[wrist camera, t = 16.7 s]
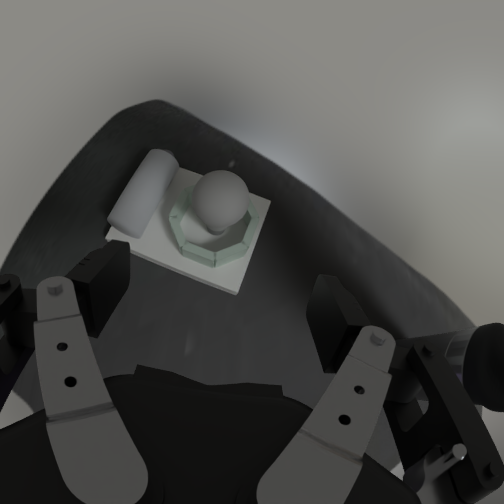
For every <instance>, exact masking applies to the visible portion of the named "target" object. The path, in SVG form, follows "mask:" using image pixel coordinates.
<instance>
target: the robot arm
mask: <svg viewBox="0 0 504 504" xmlns="http://www.w3.org/2000/svg"><path fill="white" fill-rule="evenodd" d="M129 282H130V244H129V242H125V241H120V240H114V239H112V240H111V241H109V242H108V243H107V244H106V245H105V246H104V247H103V248H102V249H101V248H99V249H97V250H95V251H92V252H90V253H89V254H88V255H87V256H86V257H85V258H84V260H83V259H82V260H81V261H80V262H79V264H77V265H76V266H75V267H74V268H73V269H72V270H71V271H70V272H69V273H68V274H67V275H66V276H65V277H59V276H57V277H50V278H47V279H45V280H43V281H42V282H41V283H40V284H39V285H38V286H37V289H23V288H22V287H21V283H20V279H19V277H18V276H16V275H13V274H5V275H1V276H0V324H1V327H2V329H3V332H4V336H3V337H2V338H1V340H0V412H1V410H2V407H3V406H4V404H5V402H6V399H7V398H8V396H9V394H10V392H11V390H12V388H13V386H14V384H15V383H16V381H17V379H18V377H19V375H20V374H21V372H22V370H23V368H24V367H25V365H26V363H27V362H28V360H29V358H30V357H31V355H32V353H33V352H34V350H35V349H36V358H37V366H38V373H39V379H40V385H41V391H42V396H43V401H44V406H45V408H44V409H42V410H40V411H38V412H36V413H34V414H32V415H30V416H28V417H26V418H24V419H22V420H20V421H17V422H15V423H13V424H11V425H9V426H7V427H5V428H2V429H0V504H474V503H476V502H478V501H479V500H481V499H483V498H484V497H486V496H487V495H489V494H490V493H492V492H493V491H495V490H496V489H498V488H499V487H500V486H501V485H502V483H503V481H504V465H503V462H502V460H501V457H500V455H499V453H498V451H497V449H496V446H495V444H494V442H493V440H492V438H491V436H490V434H489V432H488V430H487V428H486V426H485V424H484V422H483V420H482V418H481V416H480V415H479V413H478V411H477V409H476V407H475V406H474V405H482V406H484V407H485V408H487V409H489V410H492V411H496V412H504V325H503V324H501V323H492V324H487V325H483V326H479V327H474V328H469V329H464V330H459V331H454V332H448V333H442V334H436V335H429V336H422V337H415V338H407V339H399V340H394V338H393V337H392V335H391V334H390V333H388V332H387V331H386V330H384V329H382V328H380V327H376V326H372V324H371V323H370V321H369V319H368V318H367V316H366V314H365V313H364V311H363V310H362V308H361V306H360V305H359V304H358V301H357V300H356V298H355V297H354V295H353V294H351V293H350V292H349V291H348V290H347V289H344V287H343V286H342V284H341V282H340V281H339V279H338V278H337V277H336V276H330V275H324V274H319V275H318V277H317V279H316V282H315V285H314V288H313V291H312V294H311V297H310V299H309V302H308V305H307V311H306V317H307V321H308V324H309V327H310V330H311V333H312V336H313V339H314V343H315V346H316V349H317V352H318V355H319V358H320V362H321V365H322V368H323V371H324V373H336V375H335V377H334V379H333V380H332V382H331V384H330V385H329V387H328V388H327V390H326V392H325V393H324V395H323V396H322V398H321V399H320V401H319V402H318V404H317V405H316V407H315V408H314V410H313V409H311V408H310V407H308V406H307V405H305V404H303V403H301V402H299V401H297V400H294V399H292V398H289V397H285V396H283V392H282V385H268V384H255V383H238V384H227V385H205V384H202V383H199V382H197V381H194V380H191V379H189V378H186V377H184V376H181V375H178V374H176V373H173V372H170V371H165V370H160V369H155V368H151V367H146V366H142V365H138V364H137V367H136V370H135V373H134V374H127V375H117V376H112V377H108V378H105V379H103V378H102V376H101V373H100V371H99V368H98V365H97V362H96V360H95V357H94V354H93V351H92V348H91V345H90V342H89V338H88V336H90V337H94V338H98V336H99V335H100V333H101V331H102V329H103V328H104V326H105V324H106V323H107V321H108V319H109V318H110V316H111V314H112V313H113V311H114V310H115V308H116V306H117V305H118V303H119V302H120V300H121V298H122V297H123V295H124V294H125V292H126V291H127V289H128V286H129ZM417 400H422V401H429V406H428V410H427V412H426V413H425V414H424V415H423V413H422V411H421V408H420V406H419V404H418V402H417ZM382 406H383V408H384V411H385V413H386V416H387V419H388V422H389V425H390V428H391V431H392V434H393V437H394V440H395V443H396V446H397V449H398V452H399V456H400V459H401V462H402V465H403V469H404V472H405V474H404V476H403V481H402V480H400V479H399V478H398V477H396V476H395V475H393V474H392V473H391V472H389V471H388V470H387V469H385V468H384V467H383V466H381V465H380V464H379V463H377V462H376V461H375V460H374V459H372V458H371V457H370V456H368V455H367V454H366V453H365V449H366V447H367V445H368V442H369V440H370V438H371V435H372V433H373V430H374V428H375V425H376V422H377V420H378V417H379V414H380V411H381V409H382Z"/></svg>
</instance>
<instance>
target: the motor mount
mask: <svg viewBox="0 0 504 504" xmlns="http://www.w3.org/2000/svg"><path fill="white" fill-rule="evenodd" d="M201 177H203V175H200V174H197V173H195V172H192V171H189V170H186V169H183V168H180V167H179V164H178V162H177V160H176V159H175V158H174V154H173V153H172V152H171V151H170V150H167V149H164V150H160V149H152V150H150V151H149V153H148V154H147V155H146V157H145V158H144V160H143V161H142V163H141V164H140V166H139V167H138V169H137V170H136V172H135V173H134V175H133V176H132V178H131V180H130V181H129V183H128V184H127V186H126V188H125V189H124V191H123V192H122V194H121V196H120V197H119V199H118V201H117V202H116V204H115V206H114V208H113V209H112V211H111V213H110V215H109V216H108V218H107V221H108V222H109V223H110V225H111V228H110V230H109V232H108V234H107V236H106V239H107V241H108V242H109V241H111V240H112V239H114V240H120V241H125V242H129V244H130V253H132V254H135V255H137V256H139V257H142V258H144V259H146V260H149V261H151V262H153V263H156V264H158V265H160V266H163V267H165V268H168V269H170V270H172V271H175V272H177V273H180V274H182V275H185V276H187V277H190V278H192V279H195V280H197V281H200V282H202V283H205V284H207V285H210V286H212V287H215V288H217V289H220V290H223V291H225V292H228V293H231V294H233V295H237V293H238V291H239V288H240V285H241V283H242V280H243V277H244V274H245V272H246V269H247V266H248V263H249V261H250V258H251V255H252V252H253V250H254V247H255V244H256V241H257V238H258V236H259V233H260V230H261V227H262V225H263V222H264V219H265V216H266V214H267V211H268V208H269V205H270V203H271V201H270V200H267V199H264V198H262V197H259V196H257V195H254V194H252V193H249V206H248V209H247V211H246V213H245V215H244V216H243V217H242V218H241V219H240V220H239V221H238V222H237V223H235V224H234V225H231V226H228V227H227V228H226V230H225V231H224V233H222V234H221V235H212V234H210V233H209V232H208V230H207V227H206V224H205V223H204V222H202V221H201V220H200V219H199V218H198V217H197V215H196V214H195V212H194V210H193V207H192V192H193V189H194V187H195V185H196V183H197V182H198V181H199V180H200V178H201Z"/></svg>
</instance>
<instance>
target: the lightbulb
mask: <svg viewBox="0 0 504 504" xmlns="http://www.w3.org/2000/svg"><path fill="white" fill-rule="evenodd" d="M248 206H249V192H248V188H247V186H246V184H245V183H244V181H243V180H242V179H241V178H240V177H239V176H237V175H236V174H234V173H232V172H229V171H225V170H218V171H213V172H210V173H208V174H205V175H204V176H203V177H201V178H200V180H199V181H198V182H197V183H196V185H195V187H194V189H193V192H192V207H193V210H194V212H195V214H196V215H197V217H198V218H199V219H200V220H201V221H202V222H204V223H205V224H206V227H207V230H208V232H209V233H210V234H212V235H221V234H222V233H224V231H225V230H226V228H227V227H228V226H231V225H234V224H235V223H237V222H238V221H239V220H240V219H241V218H242V217H243V216H244V215H245V213H246V211H247V209H248Z"/></svg>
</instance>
